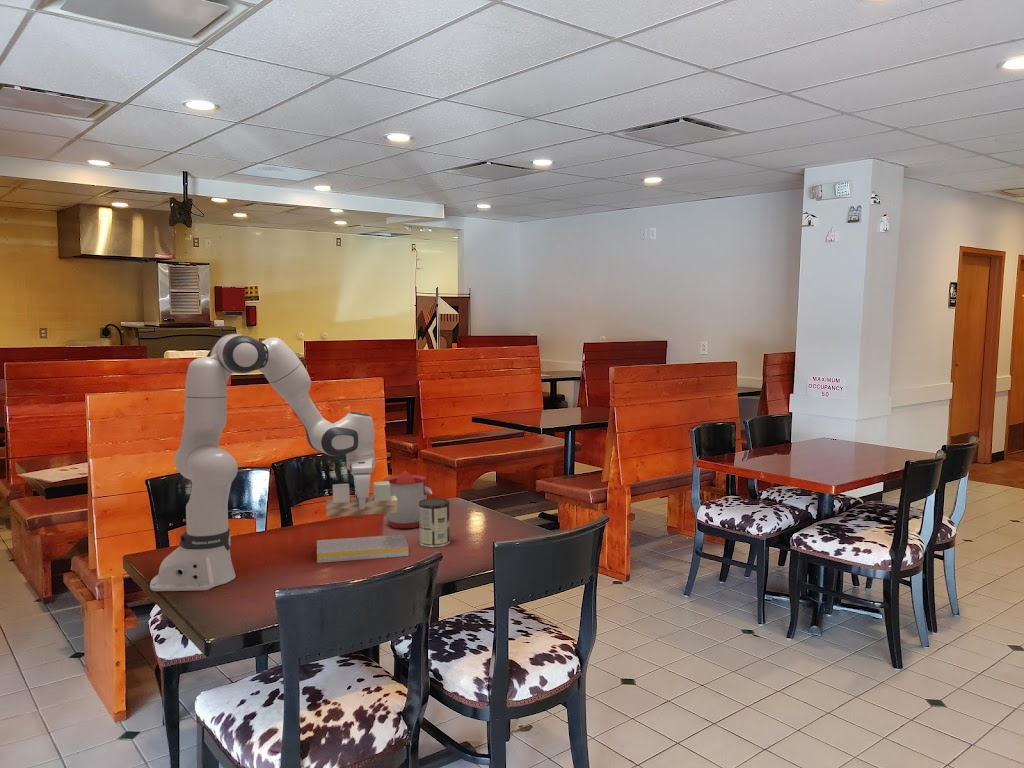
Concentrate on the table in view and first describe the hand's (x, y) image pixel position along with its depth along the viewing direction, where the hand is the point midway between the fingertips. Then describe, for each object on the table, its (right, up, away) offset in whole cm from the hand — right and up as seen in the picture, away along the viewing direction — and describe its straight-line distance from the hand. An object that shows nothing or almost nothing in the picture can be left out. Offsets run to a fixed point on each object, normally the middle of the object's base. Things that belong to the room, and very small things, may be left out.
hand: (361, 505), depth 243 cm
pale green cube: (+6, +2, +1) cm, 7 cm away
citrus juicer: (+10, -13, +34) cm, 38 cm away
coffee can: (+22, -15, +12) cm, 29 cm away
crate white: (-6, +2, -2) cm, 7 cm away
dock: (0, -15, +1) cm, 15 cm away
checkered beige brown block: (0, -2, 0) cm, 2 cm away
